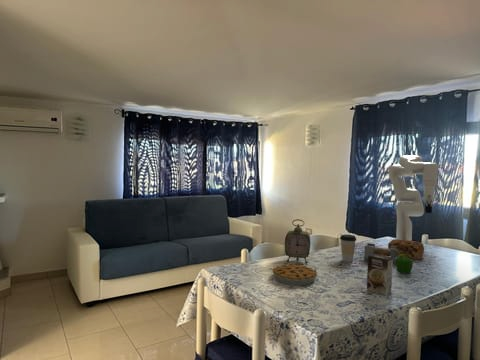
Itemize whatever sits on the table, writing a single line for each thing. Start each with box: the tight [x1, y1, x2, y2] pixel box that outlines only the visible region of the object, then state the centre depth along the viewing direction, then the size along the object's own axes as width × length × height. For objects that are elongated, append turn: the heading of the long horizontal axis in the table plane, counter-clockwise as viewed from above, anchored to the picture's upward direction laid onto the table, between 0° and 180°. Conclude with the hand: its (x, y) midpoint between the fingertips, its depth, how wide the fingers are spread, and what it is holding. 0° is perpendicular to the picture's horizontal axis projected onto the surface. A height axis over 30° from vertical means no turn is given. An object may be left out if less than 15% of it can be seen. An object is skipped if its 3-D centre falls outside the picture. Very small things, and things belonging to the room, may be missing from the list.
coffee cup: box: [339, 234, 357, 263], centre depth 199 cm, size 9×9×15 cm
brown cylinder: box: [374, 246, 399, 258], centre depth 199 cm, size 16×4×4 cm, turn 64°
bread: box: [387, 238, 425, 260], centre depth 213 cm, size 19×11×10 cm, turn 39°
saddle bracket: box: [389, 246, 397, 266], centre depth 197 cm, size 9×3×9 cm, turn 154°
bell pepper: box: [395, 254, 414, 275], centre depth 179 cm, size 8×8×10 cm
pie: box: [272, 263, 318, 286], centre depth 167 cm, size 22×22×5 cm
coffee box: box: [366, 254, 394, 296], centre depth 152 cm, size 9×6×16 cm
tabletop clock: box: [284, 218, 311, 264], centre depth 196 cm, size 14×9×25 cm, turn 76°
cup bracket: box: [363, 242, 376, 262], centre depth 203 cm, size 9×5×9 cm, turn 154°
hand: (428, 211), depth 201 cm, fingers open, 9 cm apart
